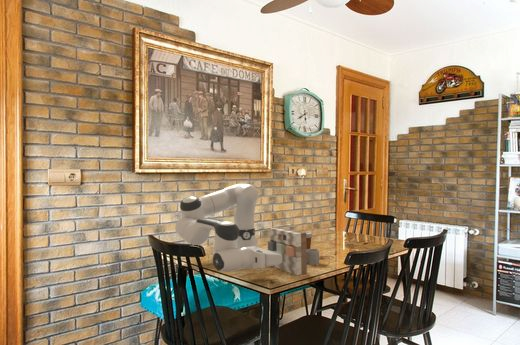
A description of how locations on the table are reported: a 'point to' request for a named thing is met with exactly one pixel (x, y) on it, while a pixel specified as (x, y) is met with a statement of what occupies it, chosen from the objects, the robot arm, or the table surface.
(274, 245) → the charcoal key
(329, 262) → the table surface
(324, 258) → the table surface
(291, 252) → the terracotta key
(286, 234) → the keypad panel
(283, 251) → the sage key
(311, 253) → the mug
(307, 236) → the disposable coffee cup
